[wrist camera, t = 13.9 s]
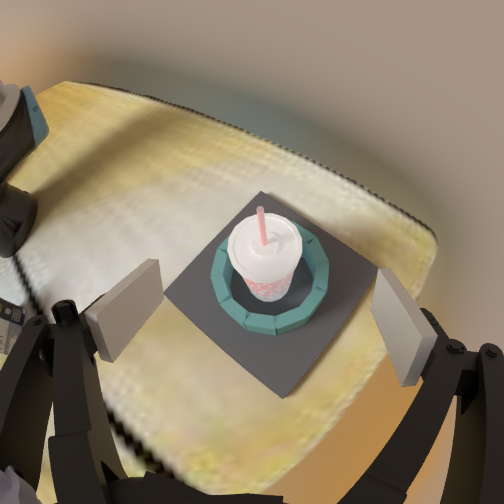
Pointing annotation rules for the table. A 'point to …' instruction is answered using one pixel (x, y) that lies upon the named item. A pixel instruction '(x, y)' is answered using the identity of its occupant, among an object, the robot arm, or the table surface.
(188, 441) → the table surface
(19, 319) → the label tape box
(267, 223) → the beverage cup
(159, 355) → the table surface
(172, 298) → the cup holder
